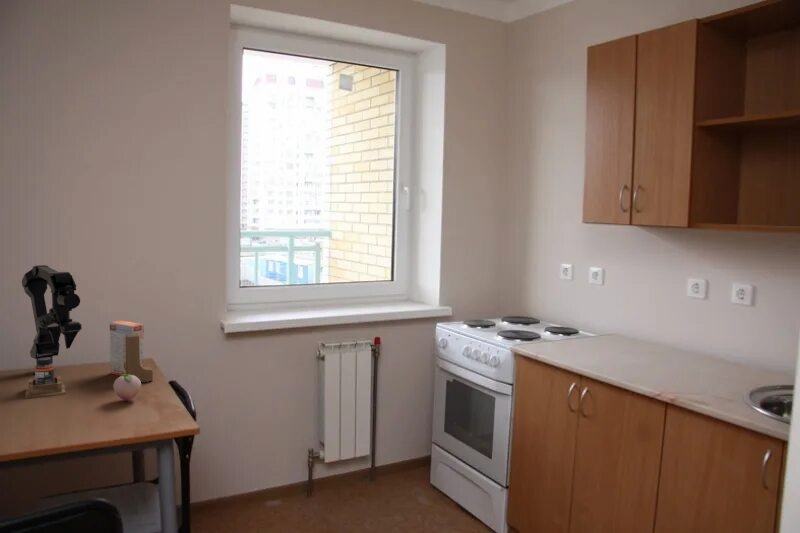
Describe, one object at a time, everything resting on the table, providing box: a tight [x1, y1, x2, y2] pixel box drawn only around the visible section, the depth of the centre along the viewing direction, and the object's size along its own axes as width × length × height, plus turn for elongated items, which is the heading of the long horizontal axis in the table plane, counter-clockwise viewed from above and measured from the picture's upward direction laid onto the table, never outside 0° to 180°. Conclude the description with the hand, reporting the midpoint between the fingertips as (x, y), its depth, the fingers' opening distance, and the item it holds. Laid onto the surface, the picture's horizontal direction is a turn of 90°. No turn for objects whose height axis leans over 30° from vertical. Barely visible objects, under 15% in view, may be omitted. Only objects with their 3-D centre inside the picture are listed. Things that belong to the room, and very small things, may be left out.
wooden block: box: [126, 334, 154, 383], centre depth 232 cm, size 9×4×18 cm, turn 118°
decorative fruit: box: [112, 372, 142, 402], centre depth 209 cm, size 9×8×10 cm
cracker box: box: [109, 320, 145, 377], centre depth 240 cm, size 14×6×21 cm, turn 58°
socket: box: [25, 376, 66, 399], centre depth 218 cm, size 12×12×4 cm
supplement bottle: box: [34, 357, 56, 385], centre depth 217 cm, size 6×6×11 cm
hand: (61, 346), depth 231 cm, fingers open, 9 cm apart
